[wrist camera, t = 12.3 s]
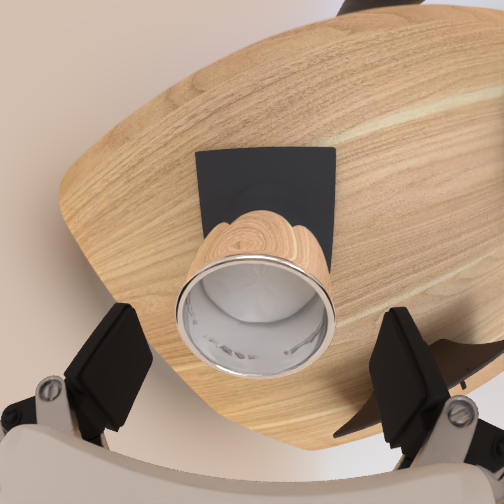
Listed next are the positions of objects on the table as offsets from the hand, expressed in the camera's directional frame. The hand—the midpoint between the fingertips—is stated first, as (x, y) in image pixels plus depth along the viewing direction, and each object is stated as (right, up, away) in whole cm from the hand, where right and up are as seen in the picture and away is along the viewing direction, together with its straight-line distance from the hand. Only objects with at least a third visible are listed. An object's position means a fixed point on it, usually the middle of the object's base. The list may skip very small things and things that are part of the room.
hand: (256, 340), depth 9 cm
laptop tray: (+25, -15, +23) cm, 37 cm away
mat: (+1, +7, +15) cm, 17 cm away
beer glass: (+1, +7, +15) cm, 16 cm away
